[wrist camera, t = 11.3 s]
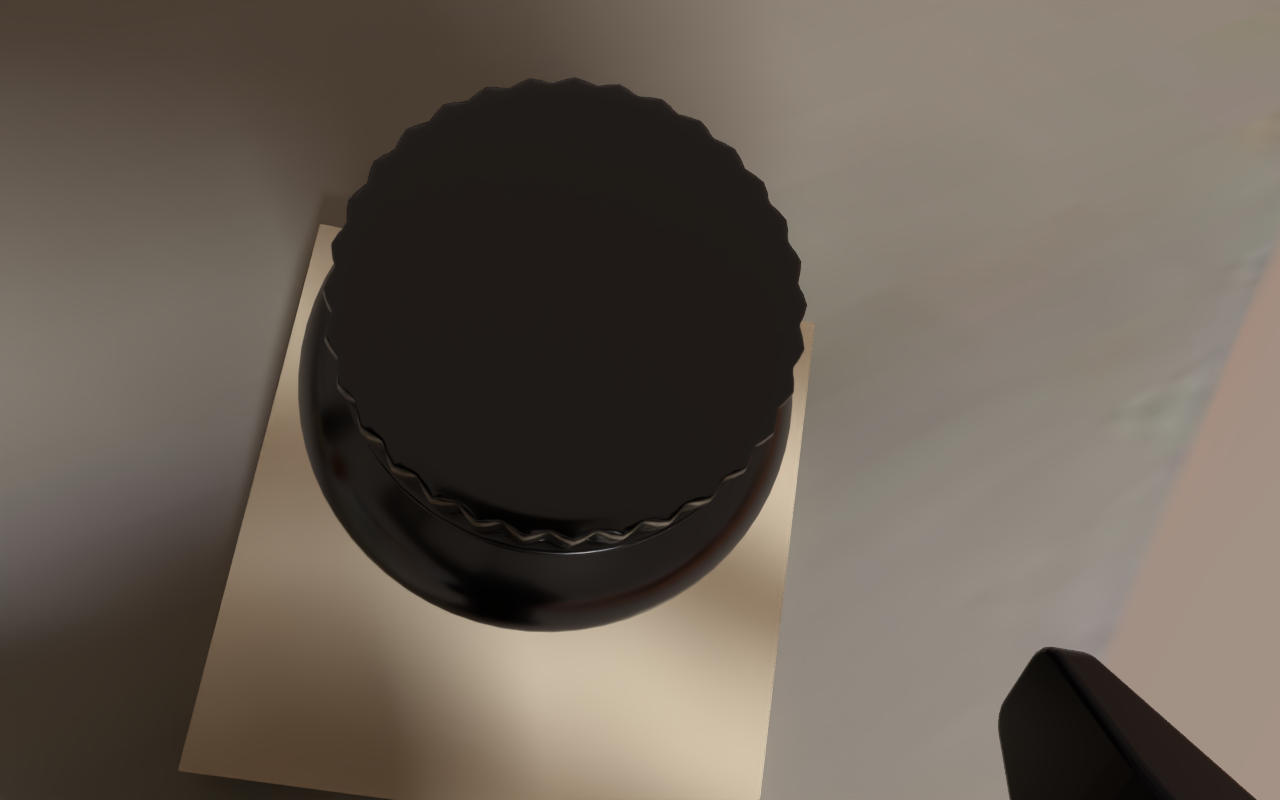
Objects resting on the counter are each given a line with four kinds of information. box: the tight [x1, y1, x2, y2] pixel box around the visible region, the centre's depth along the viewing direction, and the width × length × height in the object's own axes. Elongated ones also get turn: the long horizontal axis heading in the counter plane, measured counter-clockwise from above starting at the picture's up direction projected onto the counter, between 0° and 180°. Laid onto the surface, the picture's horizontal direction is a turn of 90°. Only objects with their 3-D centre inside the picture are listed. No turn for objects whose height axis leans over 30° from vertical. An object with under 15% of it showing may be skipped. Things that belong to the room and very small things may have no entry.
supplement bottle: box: [298, 77, 807, 632], centre depth 14 cm, size 7×7×12 cm
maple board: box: [178, 224, 815, 800], centre depth 20 cm, size 12×12×1 cm
